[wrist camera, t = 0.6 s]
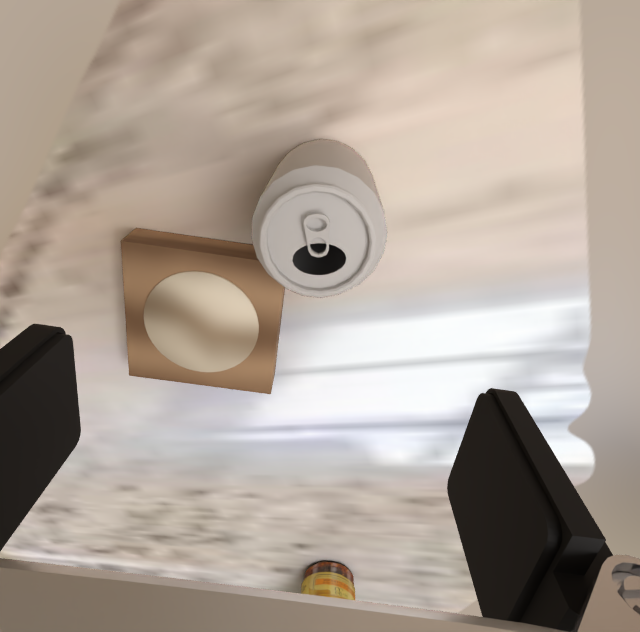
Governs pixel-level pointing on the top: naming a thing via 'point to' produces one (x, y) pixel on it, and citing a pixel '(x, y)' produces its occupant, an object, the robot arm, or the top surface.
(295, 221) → the can
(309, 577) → the sauce bottle
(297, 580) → the top surface
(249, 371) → the base
